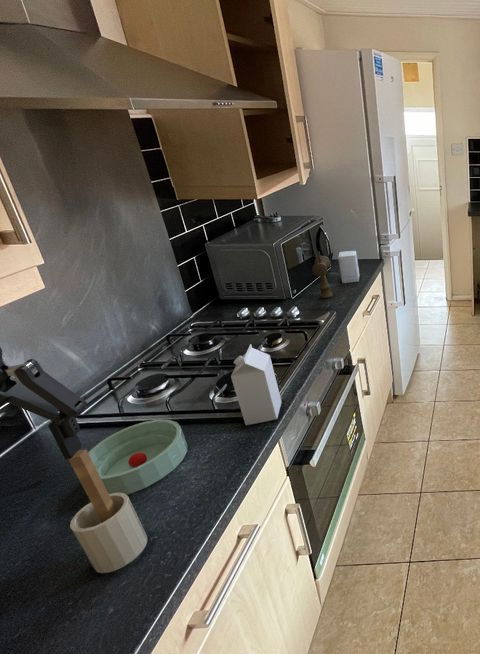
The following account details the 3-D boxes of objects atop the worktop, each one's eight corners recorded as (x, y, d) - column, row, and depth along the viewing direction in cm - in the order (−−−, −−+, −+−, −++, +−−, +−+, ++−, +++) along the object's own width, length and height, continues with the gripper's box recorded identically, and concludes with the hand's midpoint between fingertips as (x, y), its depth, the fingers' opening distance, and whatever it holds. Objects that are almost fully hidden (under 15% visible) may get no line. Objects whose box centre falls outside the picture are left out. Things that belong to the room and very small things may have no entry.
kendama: (335, 291, 178) (328, 246, 170) (333, 300, 169) (325, 254, 162) (320, 292, 176) (312, 248, 169) (317, 302, 168) (308, 255, 160)
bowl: (71, 510, 82) (59, 488, 80) (116, 448, 97) (107, 428, 95) (170, 488, 87) (161, 467, 85) (199, 432, 102) (192, 413, 99)
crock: (85, 581, 70) (59, 537, 66) (109, 541, 76) (86, 498, 72) (137, 568, 72) (114, 524, 68) (156, 530, 78) (136, 488, 74)
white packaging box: (359, 281, 187) (355, 255, 182) (341, 283, 185) (337, 257, 181) (360, 275, 194) (356, 250, 189) (343, 277, 192) (339, 251, 187)
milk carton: (282, 402, 112) (266, 341, 105) (277, 420, 106) (260, 356, 99) (252, 407, 110) (234, 346, 103) (245, 426, 104) (226, 362, 96)
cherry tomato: (127, 460, 88) (146, 455, 90) (127, 453, 91) (145, 447, 93) (129, 472, 89) (148, 467, 91) (129, 464, 91) (147, 459, 93)
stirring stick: (117, 551, 74) (67, 458, 65) (121, 543, 75) (74, 451, 67) (128, 549, 74) (80, 456, 66) (132, 540, 76) (86, 448, 67)
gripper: (-230, 373, 47) (-126, 505, 55) (49, 341, 55) (105, 462, 63) (-157, 340, 54) (-74, 462, 62) (83, 315, 61) (130, 427, 69)
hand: (16, 462), depth 62 cm, fingers open, 13 cm apart
